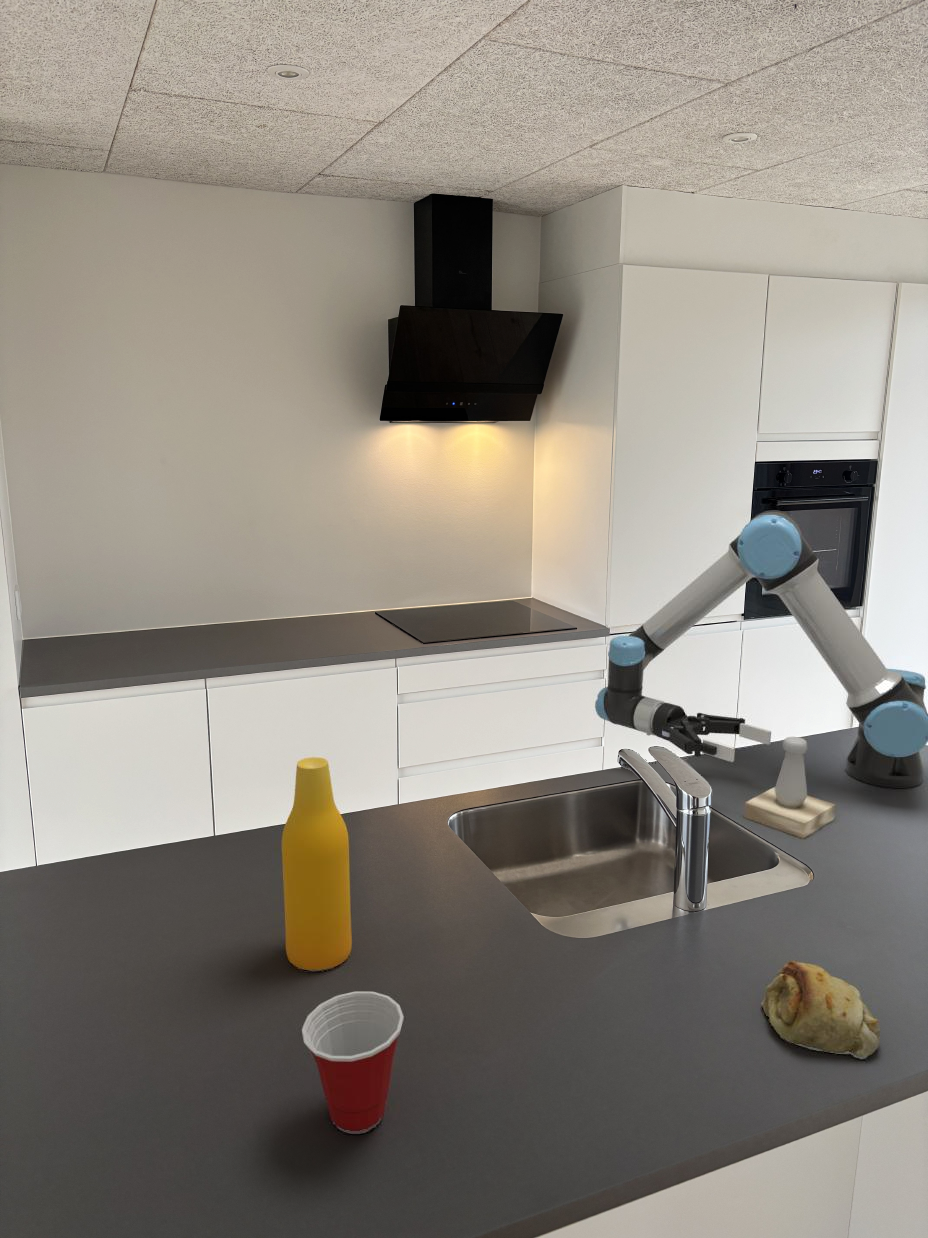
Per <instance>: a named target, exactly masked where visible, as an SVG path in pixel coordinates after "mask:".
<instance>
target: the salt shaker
mask: <svg viewBox="0 0 928 1238" xmlns="http://www.w3.org/2000/svg"><path fill="white" fill-rule="evenodd" d="M782 742H783V743H782V749H783V751H785V755H784V758H783V761H782V764H781V767H780V770H779V774H778V777H777V780H776V784H775V786H776V787H775V786H774V787H775V794H776V797H777V800H778V803H779V804H781V805H783V806H784V807H789V808H797V807H800V806H802V804H803V802H804V801H805V799H806V797H807V796H808V790H807V789H808V788H807V778H806V769H805V768H806V767H805V759H804V757H805V756H804V754H805V753H807V750H808V742H807V740H806V739H805V738H801V737H799V736H798V737H797V736H788V737H786V738H784V739H783V741H782Z"/></svg>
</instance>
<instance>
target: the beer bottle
mask: <svg viewBox="0 0 928 1238" xmlns="http://www.w3.org/2000/svg"><path fill="white" fill-rule="evenodd" d="M295 772H296V773H295V785H294V787H295V788H294V798H293V805H292V809H291V811H290V813H289V815H288V818H287V820H286V822H285V824H284V827H283V832H282V838H281V855H282V856H281V857H282V858H281V860H282V876H283V877H282V878H283V879H282V881H283V902H284V922H285V924H284V925H285V950H286V956H287V959H288V961H289V962H290V964H291V963H292V964H293V965H295V966H296V967H299V968H302V969H306V970H322V969H327V968H332V967H334V966H337V965H339V964H341V963H342V962H344V961H345V960H346V959H347V960H348V959H349V957H350V955H351V952H352V948H353V946H352V944H353V939H352V936H353V935H352V918H351V917H352V915H351V884H350V881H351V879H350V878H351V877H350V850H349V849H350V842H349V841H350V840H349V833H348V828H347V826H346V823H345V820H344V819H343V817H342V816H343V815H342V814H341V813H340V810H339V809H338V808H337V805H336V803H335V799H334V794H333V793H334V792H333V786H332V779H331V773H330V772H331V771H330V766H329V761H328V760H327V759H326V758H324V757H316V756H315V757H314V756H313V757H306V758H303V759H300V760H298V761H297V763H296V771H295ZM348 956H349V957H348ZM347 960H346V961H347ZM346 961H345V962H346ZM345 962H344V963H345ZM292 964H291V965H292ZM342 964H343V963H342ZM342 964H341V965H342ZM293 965H292V966H293ZM295 966H294V967H295ZM296 967H295V968H296Z"/></svg>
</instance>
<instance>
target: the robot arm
mask: <svg viewBox="0 0 928 1238" xmlns="http://www.w3.org/2000/svg"><path fill="white" fill-rule="evenodd" d="M819 561H820V560H819V558H818V556H817V554H816V553H815V552H814V551H813V549H812V547H811V546H810V545H809V543H808V542H807V540H806V539H805V537H804V536H803V532H802V528H801V525H800V524H799V522H798V521H797V519H796V518H795V517H793V516H792V515H791V514H788V513H787V512H784V511H780V510H774V509H772V510H766V511H763V512H761V513H758V514H756V515H755V516H754V517H752V519H750V521H749V522H748V523H747V524H746V525H745V526H744V527H743V528H742V530H741V532H740V533H739V535H737V537H735V539H733V540H732V541H731V542H730V543H728V550H727V552H725V554H723V555H722V556H721V557H720V558H718V560H716V561H715V562H714V563H713V564H712V565H710V566H709V567H708V568H706V570H705V571H703V572H702V573H701V574H700V575H699V576H697V577H696V578H695V579H694V580H693V581H692V582H691V583H690V584H688V585H687V586H686V587H684V589H682V590H681V591H680V592H679V593H677V594H676V595H675V596H674V597H673V598H672V599H670V600H669V601H668V602H667V603H666V604H665V605H663V606H662V607H661V608H660V609H659V610H658V611H657V612H655V613H654V614H653V615H652V616H651V617H650V618H649V619H647V620H646V621H645V622H644V623H643V624H642V625H640V626H639V627H638V628H637V629H635V630H634V631H633V632H631V633H630V634H628V635H620V636H615V637H613V638H611V639H610V642H609V650H608V652H607V657H608V668H607V669H608V670H607V672H608V674H607V686H606V687H603V688H602V689H601V690H600V691H599V692H598V693H597V695H596V696H597V699H596V700H595V703H594V708H595V713H596V714H597V716H598V717H599V718H600V719H602V720H604V721H606V722H610V723H611V724H613V725H618V726H622V727H625V728H628V729H632V730H635V731H638V732H641V733H644V734H646V735H647V736H656V737H657V738H659V739H662V740H665V741H668V742H669V743H671V744H672V745H674V746H675V747H677V748H678V749H680V750H681V751H682V752H684V753H685V754H688V755H693V753H694V755H693V756H694V757H698V758H699V757H701V755H702V754H704V755H708V756H711V757H715V758H717V759H721V760H724V761H726V762H730V763H733V762H734V761H735V752H736V747H733V746H730V745H727V744H723V743H720V742H717V741H714V740H711V739H708V738H704V739H701V738H700V737H699V736H708V735H709V734H723V735H738V736H739V737H741V738H744V739H747V740H751V741H754V742H757V743H761V744H764V745H767V746H768V745H771V740H772V739H771V738H772V731H771V730H768V729H765V728H762V727H758V726H755V725H754V726H753V725H750V724H747V723H746V719H745V718H743V717H740V718H738V717H728V716H724V715H723V716H721V715H712V714H708V713H702V712H698V713H697V712H696V715H687V714H686V711H685V709H684V708H683V707H682V706H680V705H678V704H673V703H670V702H665V701H664V700H660V699H656V698H652V697H648V696H644V695H643V682H644V670H645V669H646V668H647V666H648V665H649V664H650V663H651V662H652V661H653V660H654V659H656V657H658V656H659V655H661V653H663V652H664V650H666V649H667V648H668V647H669V646H671V645H672V644H673V643H674V642H675V641H677V640H678V639H679V638H680V637H681V636H683V635H684V634H685V633H686V632H688V631H689V630H690V629H691V628H693V627H694V626H695V625H696V624H697V623H698V622H700V621H702V619H704V618H705V617H706V616H707V615H708V614H709V613H711V612H712V611H714V610H715V609H716V608H717V607H719V606H720V605H721V604H722V603H723V602H725V601H726V599H728V598H729V597H730V596H732V595H733V594H734V593H735V592H736V591H738V590H739V589H740V588H741V587H742V586H744V585H745V584H747V582H748V581H750V580H751V579H752V578H756V579H757V580H758V583H760V585H761V586H762V587H763V588H764V591H765V593H767V594H773V595H777V596H778V597H779V598H780V599H781V601H782V602H783V603H784V605H785V606H786V608H787V609H788V610H789V612H790V614H791V615H792V617H793V618H794V620H796V622H797V624H798V625H799V627H800V629H802V630H803V632H804V633H805V634H806V636H807V638H808V639H809V640H810V642H811V643H812V644H813V646H814V647H815V649H816V650H817V651H818V653H819V654H820V656H821V657H822V659H823V660H824V662H825V663H826V664H827V666H828V668H829V669H830V670H831V672H833V674H834V677H836V678H837V680H838V681H839V683H840V684H841V685H842V687H843V688H844V690H845V691H846V692H847V698H846V706H847V708H848V709H849V710H850V712H851V713H852V715H853V716H854V718H855V719H856V721H857V722H858V728H857V730H858V731H857V737H856V738H855V739H854V740H855V741H854V742H853V744H852V746H851V748H850V750H849V752H848V754H847V756H846V760H845V768H844V769H845V772H846V773H847V774H848V775H849V776H851V777H852V778H854V779H855V780H858V781H861V782H864V783H867V784H870V785H874V786H878V787H882V788H892V789H907V788H914V787H918V786H920V785H921V784H922V783H923V780H924V773H925V772H924V771H925V769H924V766H923V762H922V756H921V753H920V751H921V750H922V749H923V748H924V747H925V746H926V745H927V743H928V711H927V707H926V705H925V702H924V696H925V690H926V688H927V686H926V678H925V676H924V675H923V674H921V673H917V672H915V671H909V670H902V669H894V668H887V667H886V666H885V664H884V663H883V661H882V660H881V659H880V657H879V656H878V654H877V653H876V651H875V650H874V648H873V647H872V646H871V644H870V643H869V642H868V641H867V639H866V637H865V636H864V635H863V633H862V632H861V630H860V629H859V628H858V626H857V625H856V623H855V622H854V621H853V619H852V618H851V617H850V615H849V614H848V612H847V611H846V609H845V608H844V607H843V605H842V603H840V601H839V599H838V598H837V597H836V595H835V594H834V592H833V591H832V590H831V588H830V587H829V585H827V583H826V581H825V580H824V579H823V577H822V576H821V574H820V573H819V571H818V564H819ZM701 753H702V754H701Z"/></svg>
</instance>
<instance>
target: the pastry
mask: <svg viewBox="0 0 928 1238" xmlns="http://www.w3.org/2000/svg"><path fill="white" fill-rule="evenodd" d="M760 1003H761V1006H762V1008H763V1013H764V1012H765V1013H764V1014H766V1015H767V1016H768V1017H769V1019H767V1021H768V1022H769V1024H770V1023H771V1024H770V1025H771V1027H772V1026H773V1027H774V1028H773V1027H772V1028H773V1029H774V1030H775V1031H776V1033H777V1035H778V1034H779V1035H780V1036H779V1035H778V1036H779V1037H780V1038H781V1039H782V1040H784V1039H785V1040H787V1041H788V1042H793V1043H796V1044H802V1045H804V1046H807V1047H813V1048H817V1049H820V1050H823V1051H827V1052H830V1053H831V1052H833V1053H844V1052H846V1051H849V1052H851V1053H853V1054H854V1055H856V1056H858V1057H863V1058H866V1057H868V1056H869V1055H870V1056H871V1055H872V1054H874V1053H875V1051H877V1050H878V1048H879V1045H880V1034H881V1026H880V1023H879V1021H878V1019H876V1018H875V1017H874V1016H873V1014H872V1012H871V1011H870V1010H869V1007H868V1006H867V1004H865V1003H864V1002H863V997H862V996H861V992H860V990H858V989H857V988H856V987H855V986H854V985H851V984H849V983H848V982H846V981H844V980H843V979H840V978H839V977H835V976H832V975H831V974H829V973H828V971H827V970H825V969H824V968H822V967H821V966H819V965H815V964H812V963H804V962H798V961H795V960H789V961H788V962H786V963H785V964H784V965H783V966H782V968H781V969H780V970H778V972H777V973H776V977H775V978H774V979H773V980H772V982H771V983H770V984H768V985H767V986H766V988H765V996H764V999H763V1000H762V1001H761V1002H760ZM768 1017H767V1018H768ZM785 1040H784V1041H785ZM870 1056H869V1057H870ZM869 1057H868V1058H869Z"/></svg>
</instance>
